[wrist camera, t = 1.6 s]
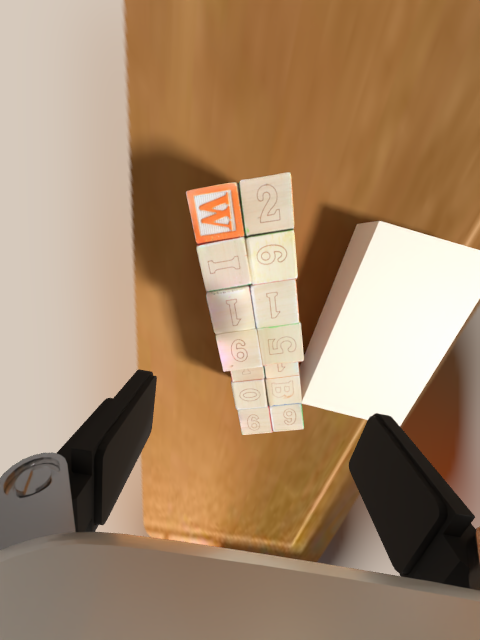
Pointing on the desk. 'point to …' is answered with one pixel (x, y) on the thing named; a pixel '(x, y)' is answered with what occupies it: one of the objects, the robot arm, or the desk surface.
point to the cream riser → (388, 320)
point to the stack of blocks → (253, 295)
